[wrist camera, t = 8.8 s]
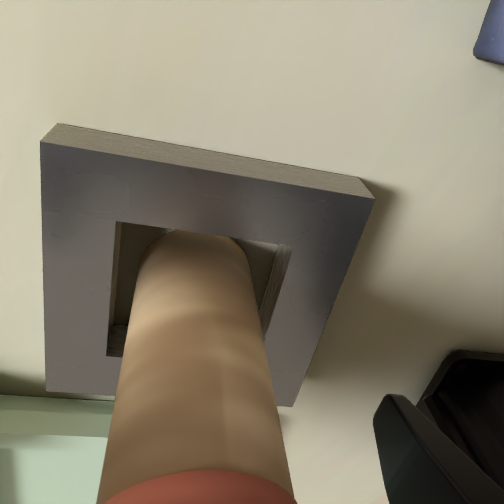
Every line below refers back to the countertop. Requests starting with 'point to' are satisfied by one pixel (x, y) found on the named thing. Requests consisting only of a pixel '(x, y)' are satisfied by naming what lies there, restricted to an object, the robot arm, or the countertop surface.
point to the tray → (52, 449)
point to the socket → (187, 219)
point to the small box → (492, 35)
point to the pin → (195, 385)
